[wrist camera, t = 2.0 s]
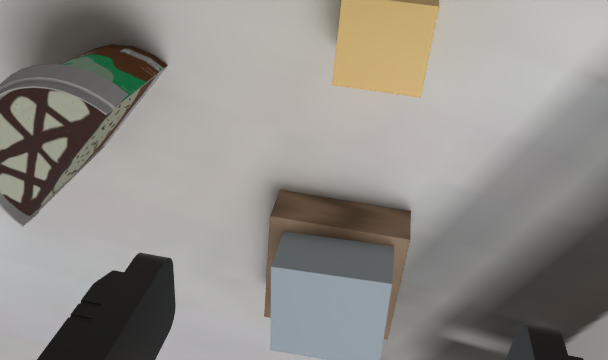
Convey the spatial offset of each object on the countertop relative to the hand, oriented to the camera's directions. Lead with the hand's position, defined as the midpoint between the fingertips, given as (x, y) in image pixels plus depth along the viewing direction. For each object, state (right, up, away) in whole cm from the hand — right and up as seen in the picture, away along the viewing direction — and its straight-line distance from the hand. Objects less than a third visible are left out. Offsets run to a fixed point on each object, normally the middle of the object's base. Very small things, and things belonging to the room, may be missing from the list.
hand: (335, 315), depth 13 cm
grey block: (+2, -4, +29) cm, 29 cm away
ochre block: (+5, +13, +22) cm, 26 cm away
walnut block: (+2, -2, +32) cm, 33 cm away
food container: (-16, +11, +28) cm, 34 cm away
